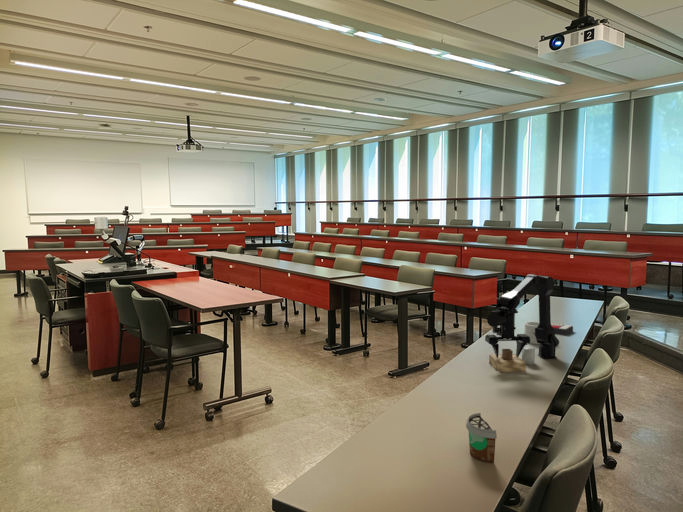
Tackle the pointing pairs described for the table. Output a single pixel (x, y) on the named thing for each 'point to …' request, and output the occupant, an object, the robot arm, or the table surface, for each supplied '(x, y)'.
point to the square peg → (507, 354)
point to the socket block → (507, 364)
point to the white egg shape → (528, 355)
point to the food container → (481, 439)
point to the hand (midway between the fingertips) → (507, 357)
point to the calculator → (562, 329)
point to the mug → (531, 331)
